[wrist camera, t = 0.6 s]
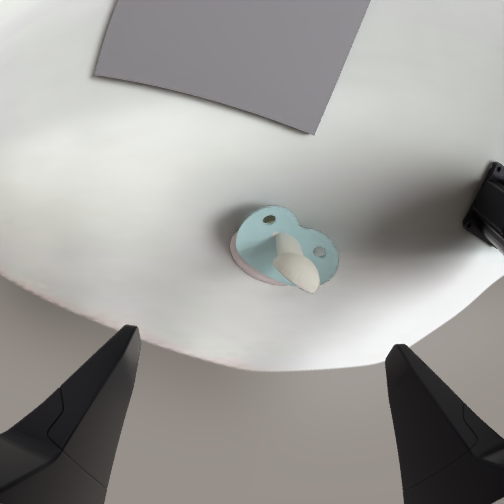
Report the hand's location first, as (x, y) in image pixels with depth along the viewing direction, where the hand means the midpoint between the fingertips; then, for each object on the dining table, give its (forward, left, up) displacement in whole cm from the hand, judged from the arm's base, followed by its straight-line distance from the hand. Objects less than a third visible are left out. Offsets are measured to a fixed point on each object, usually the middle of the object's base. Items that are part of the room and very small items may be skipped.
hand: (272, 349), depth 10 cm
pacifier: (-3, +3, -13) cm, 13 cm away
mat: (+5, -12, -12) cm, 18 cm away
